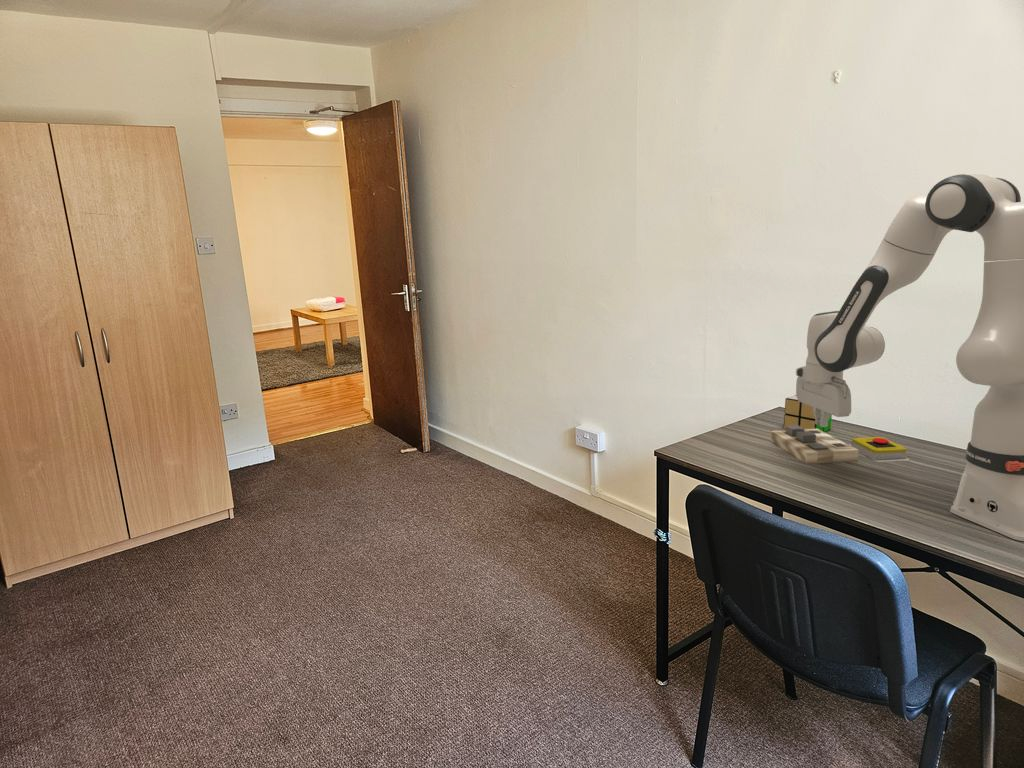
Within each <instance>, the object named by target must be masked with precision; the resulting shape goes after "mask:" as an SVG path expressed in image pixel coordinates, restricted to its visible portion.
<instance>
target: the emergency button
mask: <svg viewBox="0 0 1024 768" xmlns="http://www.w3.org/2000/svg"><path fill="white" fill-rule="evenodd" d="M848 445H850V446H852V447H854V448H856V449H858V450H859V453H858V454H861V455H862V456H864V457H866V458H869V459H870V460H872V461H873V460H874V461H873V462H875V461H876V463H893V462H894V463H897V462H896V461H900V462H910V461H909V460H910V458H908V457H907V448H906V447H905V446H902V445H900V444H898V443H896V442H894V441H892V440H889V439H887V438H885V437H882V436H871V437H870V436H869V437H867V436H866V437H853V438H852V440H851V444H850V443H849V444H848Z"/></svg>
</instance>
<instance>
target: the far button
mask: <svg viewBox="0 0 1024 768" xmlns="http://www.w3.org/2000/svg"><path fill="white" fill-rule="evenodd" d="M797 432H804V428H802V427H800V426H798V425H793V426H786V431H785V434H787V435H789V436H791V437H796V433H797Z"/></svg>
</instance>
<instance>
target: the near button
mask: <svg viewBox="0 0 1024 768" xmlns="http://www.w3.org/2000/svg"><path fill="white" fill-rule="evenodd" d="M807 446H808V447H809V448H811V449H813V450H826V449H828V447H826V446H824V445H822V444H821V443H818V444H808V445H807Z"/></svg>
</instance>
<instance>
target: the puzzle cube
mask: <svg viewBox="0 0 1024 768" xmlns="http://www.w3.org/2000/svg"><path fill="white" fill-rule="evenodd" d="M784 399H785V402H784V403H785V404H784V417H783V430H784V429H785V430H786V426H793V425H798V426H800V427H802V428H804V429H819V430H821V431H823V432H825V433H826V432H827V431H830V430H831V429H832V419H833V418H832V417H833V415H831V416H830V418H829V420H828V426H827V427H821V426H819V425H817V424H815V419H816V418H815V415H814V412H813V407H811V406H809V405H807V404H804V403H802V402H799V401H798V399H797V397H796V394H795V395H792V396H788V397H786V398H784Z"/></svg>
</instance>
